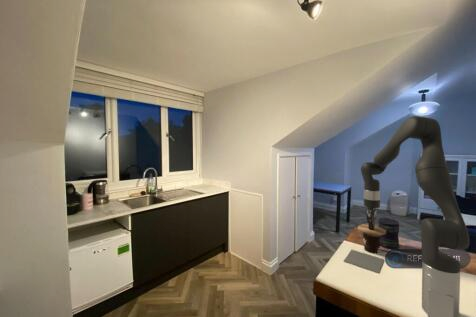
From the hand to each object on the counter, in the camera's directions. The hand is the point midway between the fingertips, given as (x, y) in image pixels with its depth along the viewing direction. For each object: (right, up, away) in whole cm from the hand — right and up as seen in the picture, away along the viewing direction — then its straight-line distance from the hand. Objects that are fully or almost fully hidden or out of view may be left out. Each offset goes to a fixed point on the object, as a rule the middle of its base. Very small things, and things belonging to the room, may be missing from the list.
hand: (371, 228), depth 111 cm
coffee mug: (0, -13, +1) cm, 13 cm away
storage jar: (+14, -13, +7) cm, 20 cm away
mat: (-9, -14, -8) cm, 19 cm away
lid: (0, -1, 0) cm, 1 cm away
